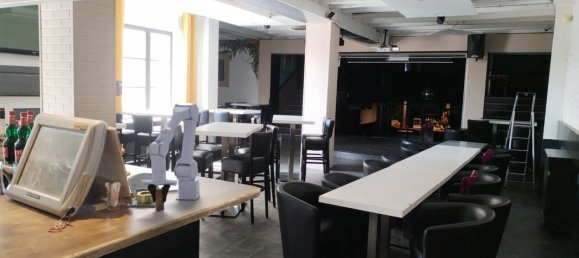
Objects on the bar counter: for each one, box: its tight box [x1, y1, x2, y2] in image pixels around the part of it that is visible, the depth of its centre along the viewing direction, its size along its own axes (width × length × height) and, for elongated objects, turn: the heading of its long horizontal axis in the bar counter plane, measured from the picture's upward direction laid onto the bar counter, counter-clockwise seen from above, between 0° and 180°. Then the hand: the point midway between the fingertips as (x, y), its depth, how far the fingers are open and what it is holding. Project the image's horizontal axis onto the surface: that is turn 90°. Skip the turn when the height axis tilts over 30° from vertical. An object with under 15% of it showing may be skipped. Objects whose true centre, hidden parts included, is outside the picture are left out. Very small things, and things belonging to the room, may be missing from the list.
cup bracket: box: [127, 188, 156, 208], centre depth 189 cm, size 12×12×5 cm
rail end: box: [155, 187, 165, 212], centre depth 180 cm, size 4×4×9 cm
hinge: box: [127, 172, 160, 196], centre depth 208 cm, size 17×5×10 cm, turn 151°
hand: (159, 201), depth 180 cm, fingers closed on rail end, 3 cm apart
